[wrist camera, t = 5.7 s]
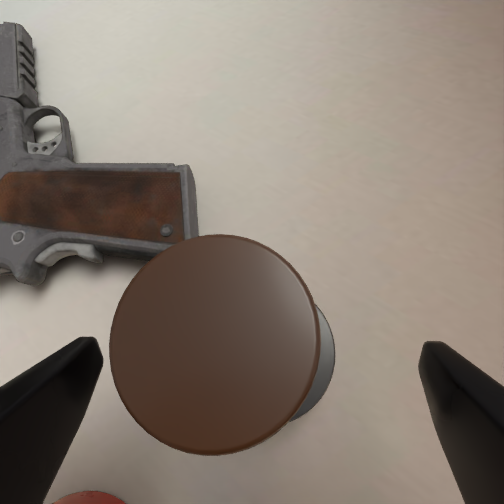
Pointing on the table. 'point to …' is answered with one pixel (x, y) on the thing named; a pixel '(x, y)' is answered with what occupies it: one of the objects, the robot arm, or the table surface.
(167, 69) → the table surface
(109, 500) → the tin
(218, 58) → the table surface
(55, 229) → the handgun
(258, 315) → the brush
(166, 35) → the table surface
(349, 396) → the table surface
